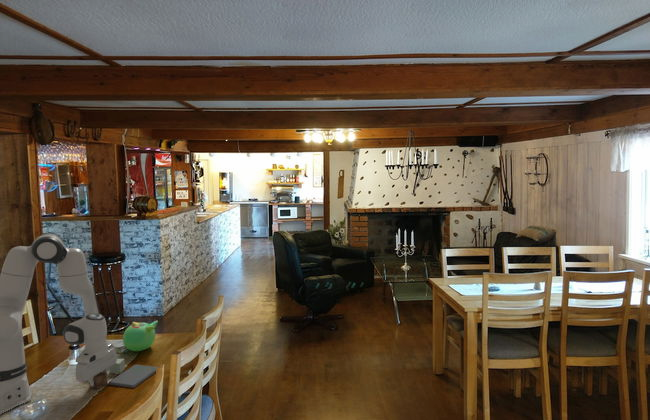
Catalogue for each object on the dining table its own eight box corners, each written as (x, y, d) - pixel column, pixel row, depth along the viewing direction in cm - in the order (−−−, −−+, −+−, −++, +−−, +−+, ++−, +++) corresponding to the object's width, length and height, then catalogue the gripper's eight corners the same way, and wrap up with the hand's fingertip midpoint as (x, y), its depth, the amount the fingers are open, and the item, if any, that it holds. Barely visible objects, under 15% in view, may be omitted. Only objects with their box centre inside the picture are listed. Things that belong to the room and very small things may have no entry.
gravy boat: (125, 344, 240) (124, 318, 238) (159, 340, 245) (157, 315, 243) (121, 358, 222) (119, 329, 221) (157, 353, 228) (155, 325, 226)
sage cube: (120, 373, 205) (119, 363, 205) (109, 373, 205) (108, 363, 205) (125, 369, 210) (124, 358, 210) (114, 369, 210) (113, 358, 210)
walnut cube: (99, 389, 191) (98, 377, 191) (89, 387, 192) (88, 376, 192) (107, 383, 196) (107, 372, 195) (98, 382, 197) (97, 371, 197)
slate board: (133, 387, 192) (133, 385, 192) (108, 384, 195) (108, 381, 195) (159, 369, 209) (159, 367, 209) (135, 366, 212) (135, 364, 212)
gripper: (107, 341, 203) (109, 370, 205) (72, 360, 184) (74, 392, 185) (119, 343, 202) (121, 372, 203) (84, 361, 182) (86, 394, 183)
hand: (98, 382), depth 194 cm, fingers closed on walnut cube, 5 cm apart
